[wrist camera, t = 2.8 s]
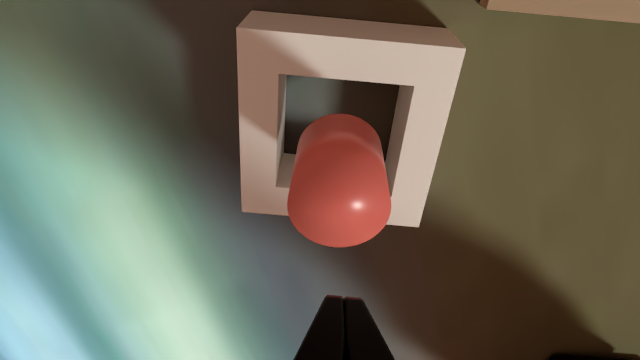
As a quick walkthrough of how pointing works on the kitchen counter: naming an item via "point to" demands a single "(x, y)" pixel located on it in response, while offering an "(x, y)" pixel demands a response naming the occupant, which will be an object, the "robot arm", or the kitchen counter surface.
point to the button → (339, 182)
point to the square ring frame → (346, 64)
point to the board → (572, 8)
